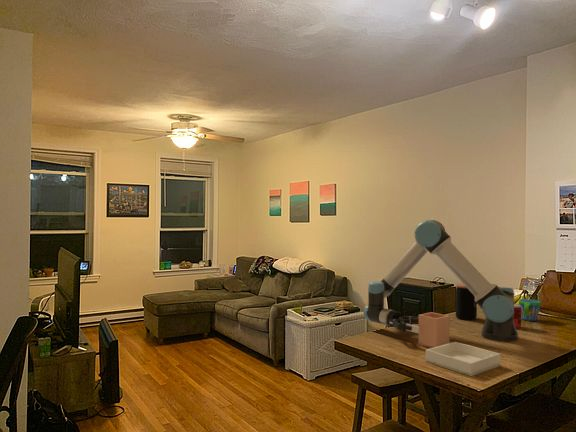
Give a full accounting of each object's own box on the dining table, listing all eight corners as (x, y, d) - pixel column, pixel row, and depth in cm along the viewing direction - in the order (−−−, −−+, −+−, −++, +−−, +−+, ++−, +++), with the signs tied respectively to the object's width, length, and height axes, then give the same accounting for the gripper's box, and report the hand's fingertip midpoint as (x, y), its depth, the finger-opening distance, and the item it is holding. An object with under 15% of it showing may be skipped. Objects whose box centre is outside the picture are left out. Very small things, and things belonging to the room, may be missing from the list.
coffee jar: (478, 321, 235) (478, 287, 234) (457, 320, 237) (457, 286, 237) (474, 316, 245) (474, 283, 245) (454, 315, 247) (454, 283, 247)
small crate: (431, 341, 197) (431, 312, 197) (449, 346, 190) (449, 316, 190) (418, 345, 192) (418, 314, 192) (436, 350, 185) (436, 318, 184)
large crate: (455, 352, 181) (455, 341, 181) (500, 365, 166) (500, 353, 166) (425, 361, 170) (425, 349, 170) (470, 376, 155) (470, 363, 155)
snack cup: (523, 315, 247) (524, 297, 247) (545, 319, 240) (545, 300, 240) (513, 320, 236) (513, 301, 236) (535, 324, 229) (535, 304, 229)
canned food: (500, 325, 227) (500, 303, 227) (515, 324, 227) (515, 303, 227) (508, 328, 219) (509, 306, 219) (524, 328, 220) (524, 306, 220)
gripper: (408, 322, 217) (446, 332, 200) (372, 330, 203) (409, 341, 185) (408, 307, 217) (446, 315, 200) (372, 313, 203) (409, 323, 185)
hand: (429, 327), depth 192 cm, fingers open, 13 cm apart
